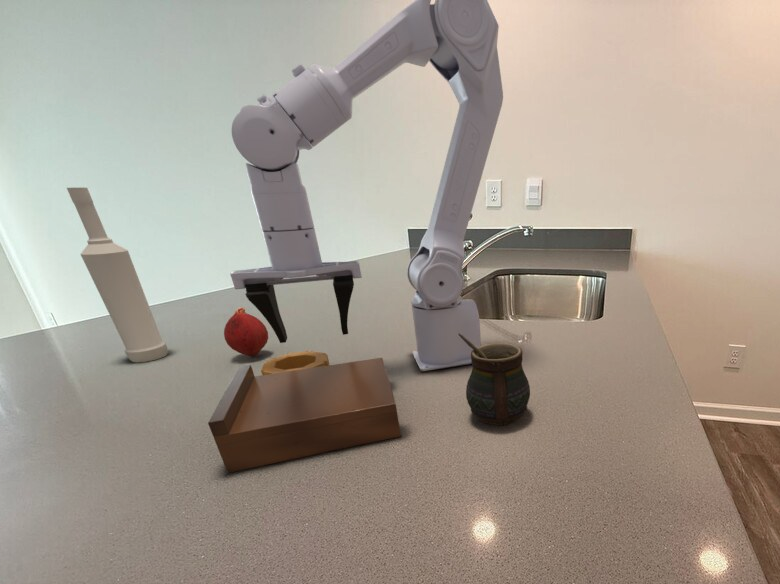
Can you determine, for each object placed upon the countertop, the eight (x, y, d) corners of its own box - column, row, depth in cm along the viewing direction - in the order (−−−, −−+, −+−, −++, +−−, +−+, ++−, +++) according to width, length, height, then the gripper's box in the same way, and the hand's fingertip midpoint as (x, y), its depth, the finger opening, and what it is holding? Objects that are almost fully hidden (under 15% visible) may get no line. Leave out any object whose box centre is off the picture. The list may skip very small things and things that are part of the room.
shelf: (387, 384, 55) (380, 346, 53) (400, 436, 43) (393, 390, 41) (253, 407, 50) (239, 366, 48) (227, 473, 38) (207, 422, 36)
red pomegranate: (255, 364, 63) (239, 313, 59) (223, 362, 64) (206, 312, 60) (281, 351, 68) (268, 303, 64) (251, 349, 69) (237, 302, 66)
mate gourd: (536, 428, 44) (537, 341, 40) (467, 436, 43) (460, 347, 39) (524, 398, 51) (523, 320, 46) (463, 404, 50) (456, 325, 45)
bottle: (121, 360, 65) (41, 188, 55) (157, 349, 70) (89, 188, 59) (141, 364, 63) (62, 187, 53) (176, 353, 68) (110, 187, 57)
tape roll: (331, 366, 61) (327, 348, 60) (331, 388, 54) (326, 367, 53) (272, 375, 59) (266, 356, 57) (264, 399, 52) (257, 377, 51)
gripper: (210, 236, 43) (249, 354, 49) (353, 228, 48) (373, 337, 54) (225, 231, 49) (258, 337, 55) (351, 224, 54) (369, 323, 60)
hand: (315, 336), depth 55 cm, fingers open, 7 cm apart
